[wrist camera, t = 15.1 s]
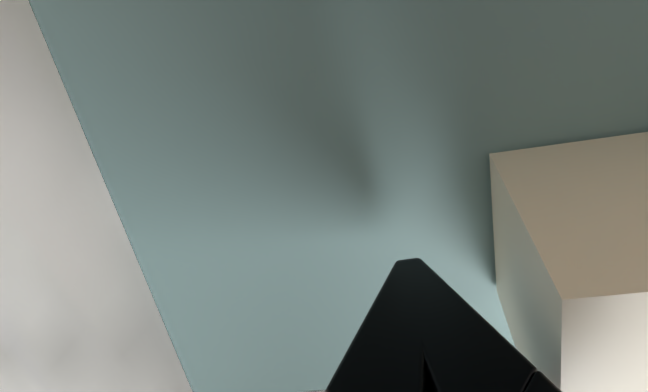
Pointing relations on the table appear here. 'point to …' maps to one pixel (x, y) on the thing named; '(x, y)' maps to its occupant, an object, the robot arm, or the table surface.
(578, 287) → the cream block
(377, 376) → the robot arm
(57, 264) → the table surface
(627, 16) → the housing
